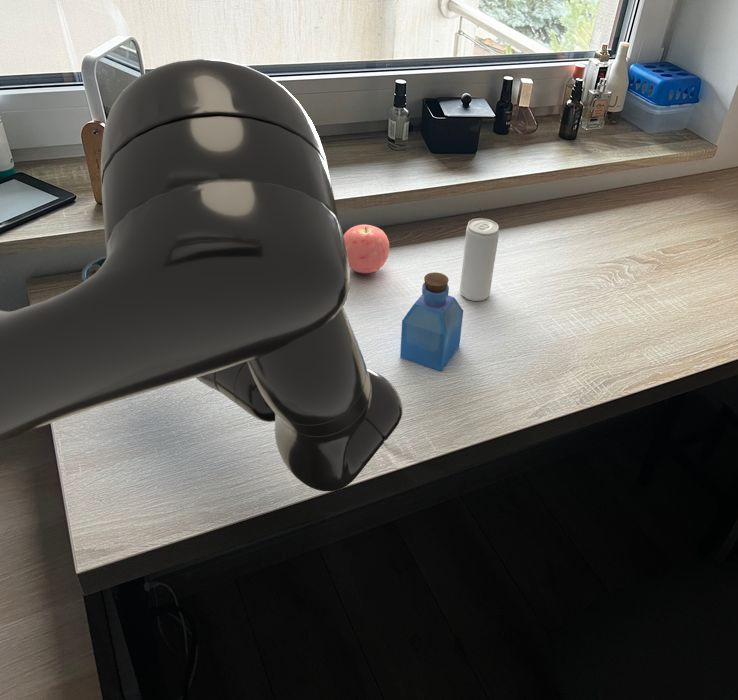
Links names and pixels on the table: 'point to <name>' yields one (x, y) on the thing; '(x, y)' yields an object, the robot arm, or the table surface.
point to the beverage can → (479, 258)
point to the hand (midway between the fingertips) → (109, 267)
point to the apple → (366, 248)
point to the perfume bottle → (432, 325)
